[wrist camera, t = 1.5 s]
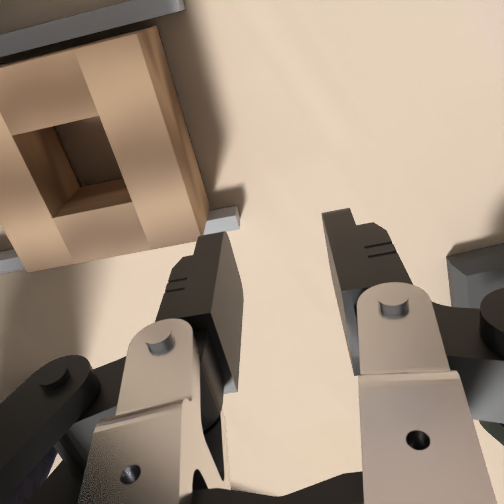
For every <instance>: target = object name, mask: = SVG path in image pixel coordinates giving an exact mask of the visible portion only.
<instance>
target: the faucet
mask: <svg viewBox="0 0 504 504" xmlns="http://www.w3.org/2000/svg"><path fill="white" fill-rule="evenodd" d="M446 259H447V268H448V278H449V287H450V296H451V305H452V307H458V308H477V309H480V304H481V301H482V300H483V298H484V297H485V296H486V295H487V294H489V293H491V292H493V291H495V290H498V289H501V288H504V243H503V244H499V245H494V246H490V247H486V248H481V249H477V250H473V251H469V252H464V253H460V254H456V255H451V256H447V257H446Z"/></svg>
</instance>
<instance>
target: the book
mask: <svg viewBox="0 0 504 504" xmlns="http://www.w3.org/2000/svg"><path fill="white" fill-rule="evenodd" d="M57 453H58V452H57V450H56V449H55V447H54V446H53V447H52V448H51V450H50V451H49V452H48V453H47V454H46V455H45V456H44V457H43V458H42V459H41V461H40V462H39V463H38V464H37V465H36V466H35V467H34V468H33V469H32V471H31V472H30V473H29V474H28V475H27V476H26V477H25V478H24V479H23V481H22V482H21V483H20V484H19V485H18V486H17V487H16V488H15V489H14V491H13V492H12V493H11V495H10V496H9V498H8V500H7V502H6V504H25V503H26V502H27V501H28V500H29V499H30V498H31V496H32V495H33V494H34V493H35V492H36V491H37V489H38V488H39V487H40V486H41V485H42V484H43V483H44V481H45V480H46V479H47V477H48V474H49V472H50V470H51V467H52V465H53V463H54V460H55V458H56V455H57Z"/></svg>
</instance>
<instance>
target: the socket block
mask: <svg viewBox="0 0 504 504" xmlns="http://www.w3.org/2000/svg"><path fill="white" fill-rule="evenodd" d="M95 116H99V117H100V119H101V122H102V124H103V127H104V130H105V132H106V135H107V137H108V140H109V143H110V145H111V148H112V150H113V153H114V155H115V158H116V161H117V163H118V166H119V168H120V171H121V174H122V176H123V178H122V179H117V180H112V181H108V182H103V183H98V184H93V185H89V186H84V187H80V186H79V184H78V181H77V179H76V177H75V175H74V172H73V170H72V168H71V166H70V163H69V161H68V159H67V157H66V154H65V152H64V150H63V148H62V145H61V143H60V141H59V139H58V136H57V134H56V132H55V129H54V127H53V126H56V125H61V124H65V123H69V122H74V121H78V120H82V119H87V118H91V117H95ZM209 209H210V205H209V201H208V198H207V195H206V191H205V188H204V185H203V181H202V178H201V174H200V171H199V168H198V164H197V161H196V157H195V154H194V151H193V147H192V144H191V141H190V137H189V134H188V130H187V127H186V124H185V120H184V117H183V113H182V110H181V107H180V103H179V100H178V97H177V93H176V90H175V86H174V83H173V80H172V76H171V73H170V69H169V66H168V63H167V59H166V56H165V53H164V49H163V46H162V42H161V39H160V36H159V32H158V29H157V25H156V26H153V27H149V28H145V29H141V30H137V31H133V32H129V33H125V34H121V35H117V36H113V37H109V38H105V39H101V40H97V41H93V42H90V43H86V44H82V45H78V46H74V47H70V48H66V49H62V50H58V51H54V52H50V53H46V54H42V55H38V56H34V57H31V58H27V59H23V60H19V61H15V62H11V63H7V64H3V65H0V225H1V226H2V228H3V230H4V232H5V233H6V235H7V237H8V239H9V241H10V242H11V244H12V246H13V248H14V249H15V251H16V253H17V255H18V257H19V258H20V260H21V262H22V264H23V265H24V267H25V269H26V271H27V273H29V272H34V271H39V270H45V269H50V268H55V267H61V266H66V265H71V264H77V263H82V262H88V261H93V260H98V259H104V258H109V257H114V256H120V255H125V254H130V253H136V252H141V251H146V250H152V249H157V248H163V247H168V246H173V245H179V244H184V243H189V242H195V241H197V239H198V237H199V236H202V235H203V234H204V230H205V226H206V222H207V218H208V213H209Z"/></svg>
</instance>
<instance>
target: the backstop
mask: <svg viewBox="0 0 504 504" xmlns="http://www.w3.org/2000/svg"><path fill="white" fill-rule="evenodd" d="M182 10H185V6H184V3H183V0H130V1H126V2H123V3H119V4H115V5H111V6H107V7H104V8H100V9H96V10H92V11H88V12H85V13H81V14H77V15H73V16H69V17H66V18H62V19H58V20H54V21H50V22H47V23H43V24H39V25H35V26H32V27H28V28H24V29H20V30H16V31H13V32H9V33H5V34H1V35H0V57H3V56H7V55H11V54H15V53H18V52H22V51H26V50H30V49H34V48H38V47H42V46H46V45H50V44H54V43H57V42H61V41H65V40H69V39H73V38H77V37H81V36H85V35H89V34H93V33H96V32H100V31H104V30H108V29H112V28H116V27H120V26H124V25H128V24H132V23H135V22H139V21H143V20H147V19H151V18H155V17H159V16H163V15H167V14H170V13H174V12H178V11H182ZM239 226H240V216H239V212H238V208H237V206H232V207H226V208H221V209H216V210H211V211H209V213H208V218H207V222H206V226H205V230H204V234H203V235H207V234H213V233H218V232H223V231H232V230H237V229H239ZM24 269H25V267H24V265H23V264H22V262H21V260H20V258H19V257H18V255H17V253H16V251H15V249H11V250H6V251H1V252H0V274H3V273H8V272H13V271H19V270H24Z"/></svg>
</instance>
